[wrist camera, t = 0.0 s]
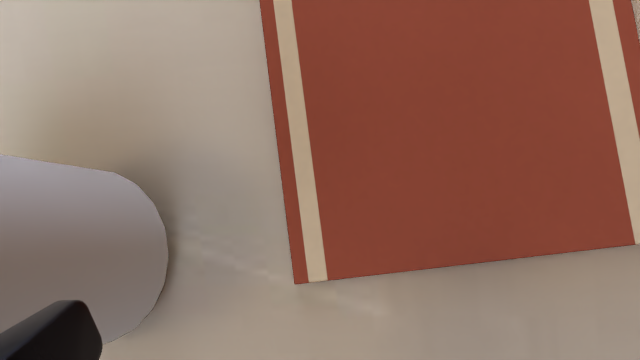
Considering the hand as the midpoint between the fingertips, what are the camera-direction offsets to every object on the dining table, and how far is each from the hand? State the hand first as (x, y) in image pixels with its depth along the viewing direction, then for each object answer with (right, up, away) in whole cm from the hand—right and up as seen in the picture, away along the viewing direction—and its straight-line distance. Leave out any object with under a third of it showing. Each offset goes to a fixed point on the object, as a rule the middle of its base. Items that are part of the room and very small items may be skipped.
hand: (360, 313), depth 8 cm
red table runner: (+1, +28, +17) cm, 33 cm away
